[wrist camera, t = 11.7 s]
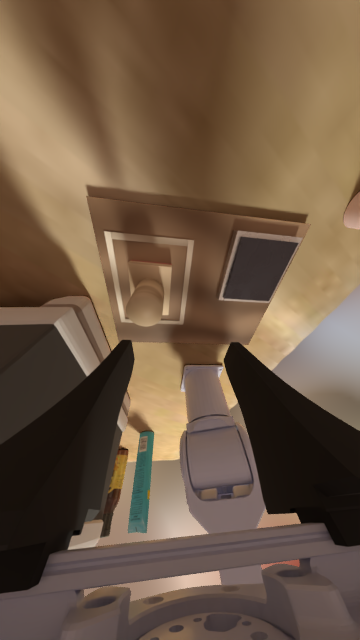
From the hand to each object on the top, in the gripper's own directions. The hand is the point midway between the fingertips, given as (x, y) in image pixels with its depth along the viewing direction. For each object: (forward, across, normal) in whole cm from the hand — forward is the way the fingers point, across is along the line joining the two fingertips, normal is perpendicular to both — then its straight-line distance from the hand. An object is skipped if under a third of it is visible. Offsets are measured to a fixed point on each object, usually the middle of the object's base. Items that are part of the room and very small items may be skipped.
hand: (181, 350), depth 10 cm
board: (+10, -2, 0) cm, 11 cm away
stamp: (+10, +3, -1) cm, 10 cm away
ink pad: (+10, -9, -4) cm, 14 cm away
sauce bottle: (+11, +19, +74) cm, 77 cm away
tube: (+11, +7, +54) cm, 55 cm away
